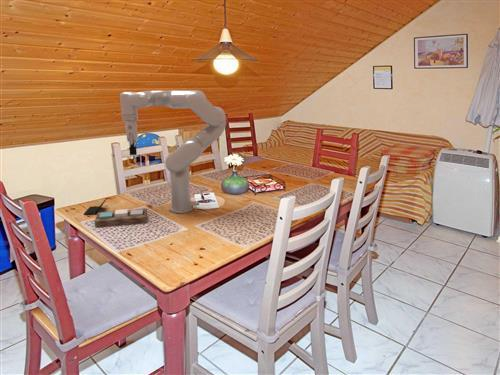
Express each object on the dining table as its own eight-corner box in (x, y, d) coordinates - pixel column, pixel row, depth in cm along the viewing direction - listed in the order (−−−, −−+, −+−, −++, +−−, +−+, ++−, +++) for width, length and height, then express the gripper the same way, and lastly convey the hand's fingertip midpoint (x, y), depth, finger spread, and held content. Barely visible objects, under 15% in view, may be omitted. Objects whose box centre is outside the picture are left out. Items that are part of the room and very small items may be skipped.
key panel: (146, 214, 192) (146, 208, 191) (146, 222, 181) (146, 216, 180) (98, 218, 186) (97, 211, 185) (95, 227, 175) (94, 220, 174)
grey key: (143, 214, 188) (142, 209, 187) (142, 218, 183) (142, 213, 182) (131, 215, 187) (130, 210, 186) (130, 219, 181) (130, 214, 181)
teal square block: (113, 216, 185) (112, 211, 184) (112, 220, 179) (111, 215, 179) (101, 217, 183) (100, 212, 183) (99, 221, 178) (99, 216, 177)
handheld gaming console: (85, 205, 200) (96, 191, 198) (98, 212, 203) (108, 198, 201) (82, 216, 189) (93, 201, 188) (95, 222, 193) (106, 208, 191)
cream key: (128, 213, 186) (127, 209, 185) (127, 217, 181) (127, 213, 180) (116, 214, 185) (115, 210, 184) (115, 218, 179) (114, 214, 179)
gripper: (137, 119, 179) (140, 157, 184) (138, 116, 193) (141, 151, 198) (120, 119, 177) (124, 158, 183) (123, 116, 191) (126, 152, 197)
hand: (133, 154), depth 190 cm, fingers closed
